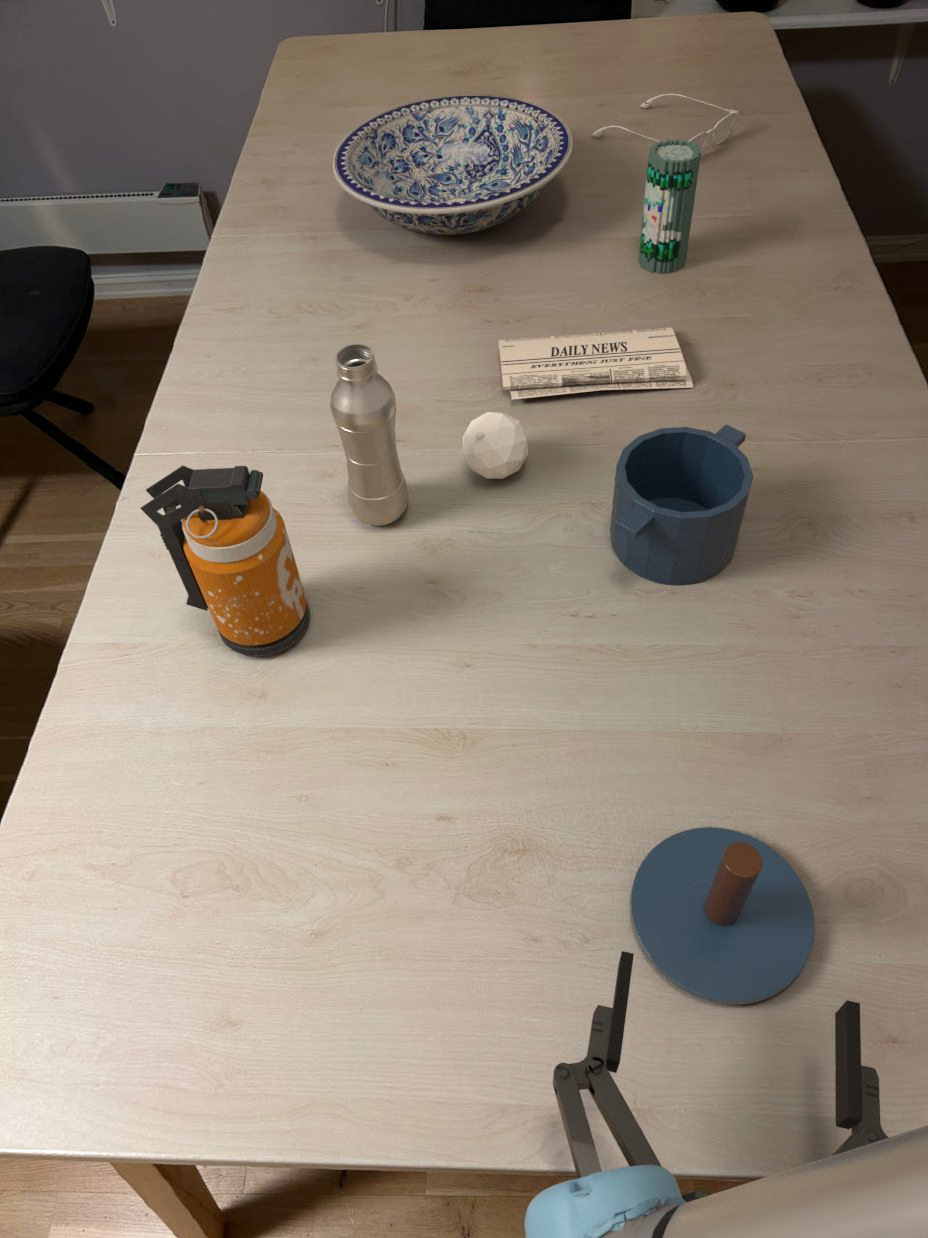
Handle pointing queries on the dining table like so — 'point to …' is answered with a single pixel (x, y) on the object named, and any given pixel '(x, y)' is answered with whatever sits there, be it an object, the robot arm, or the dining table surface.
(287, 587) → the canister
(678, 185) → the can
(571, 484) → the dining table surface
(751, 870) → the lid
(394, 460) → the metal water bottle
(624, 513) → the pot
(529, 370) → the newspaper
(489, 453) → the ornament
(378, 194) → the ceramic bowl
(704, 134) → the eyeglasses
